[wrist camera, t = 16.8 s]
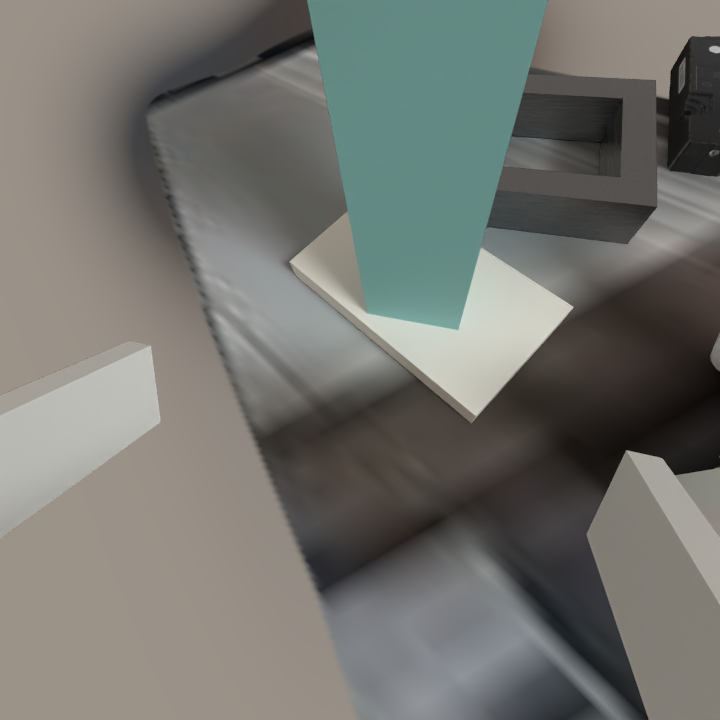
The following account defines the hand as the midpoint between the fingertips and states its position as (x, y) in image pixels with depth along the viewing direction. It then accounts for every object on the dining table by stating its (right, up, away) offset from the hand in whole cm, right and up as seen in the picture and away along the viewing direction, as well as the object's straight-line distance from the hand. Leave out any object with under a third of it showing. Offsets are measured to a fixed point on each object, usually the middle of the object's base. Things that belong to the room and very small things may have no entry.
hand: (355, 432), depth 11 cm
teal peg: (+4, +6, +11) cm, 13 cm away
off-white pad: (+4, +6, +13) cm, 14 cm away
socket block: (+12, +14, +15) cm, 24 cm away
